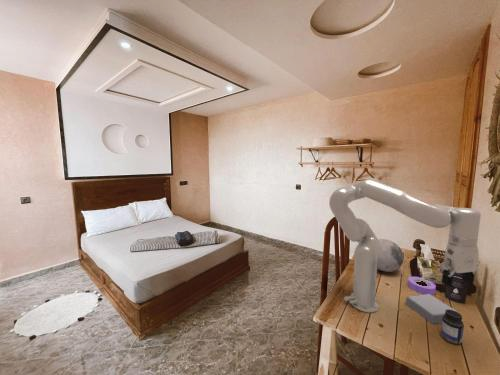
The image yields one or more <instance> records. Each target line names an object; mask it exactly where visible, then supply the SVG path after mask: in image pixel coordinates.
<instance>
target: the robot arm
mask: <svg viewBox="0 0 500 375" xmlns="http://www.w3.org/2000/svg"><path fill="white" fill-rule="evenodd" d="M364 198H368V199H370V200H373V201H375V202H377V203H379V204H382V205H384V206H386V207H389V208H392V209H393V210H395V211H396V212H398V213H401V214H403V215H404V216H406V217H408V218H410V219H412V220H414V221H416V222H419V223H421V224H422V225H425V226H429V227H431V228H436V229H443V228H446V227H448V226H449V230H448V241H447V245H446V248H445V253H444V257H443V261H442V262H441V263H439V265H438V268H439V270H440V272H441V274H442V276H441V283H442V284H444V285H445V286H447V287H449V288H452V287H453V282H454V277H453V275H454V274H456V273H457V274H462V281H464V282H466V283H467V284H470V285H474V282H475V275H476V274H477V272H476V271H478V270H479V266H480V263H481V262H480V261H479V256H480V255H479V247H478V239H479V232H480V224H481V215H482V214H481V212H480V211H479V210H477V209H475V208H468V207H455V206H450V205H446V204H445V205H444V204H439V203H438V204H435V203H434V204H429V203H426V202H423V201H420V200H418V199H416V198H414V197H412V196H411V195H410V194H409V193H407V192H405V191H404V190H402V189H399V188H396V187H394V186H391V185H388V184H385V183H383V182H381V181H380V180H379V179H377V178H375V177H370V178H365V179H363V180H362V181H361V180H360V181H358V182H354V183H352V184H348V185H344V186H341V187H339V188H337V189H335V190H334V191H333V192H332V194H331V195H330V198H329V208H330V211H331V213H332V214H333V216H334V217H335V219H336V220H337V223H338V225H339V226H340V228H341V230H342V231H343V233H344V235H345V237H346V238H347V239H348V240H349V241H350V242H353V243H354V242H356V243H358V244H357V245H356V247H355V249H354V252H353V257H354V258H353V260H354V269H353V270H354V271H353V272H354V274H353V287H352V288H353V292H351V294H350V295H349V296H344V297H343V300H344V301H345V302H349V303H350V304H351V306H353V307H354V308H355V309H357V310H359V311H362V312H364V313H369V314H370V313H376V312H377V311H378V310H379V303H378V302H377V301H376V295H377V294H376V291H377V276H378V275H377V274H378V269H377V259H378V256H379V254H380V252H381V245H380V242H379V241H378V239H379V238H378V237H377V236H376V235H375V233H374V232H373V230H372V228H371V227H370V225H369V224H368V222H367V221H365V220H364V219H362V218H357V217H356V216H355V214H354V213H355V212H353V210H352V209H351V208H350V207H349V203H352V202H353V201H357V200H361V199H364ZM448 270H449V271H448Z"/></svg>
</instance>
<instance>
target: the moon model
mask: <svg viewBox="0 0 500 375" xmlns="http://www.w3.org/2000/svg"><path fill="white" fill-rule="evenodd" d="M377 239H378V241H379V242H380V245H381V252H380V254H379V256H378V259H377V270H379V271H382V272H384V273H386V272H387V273H390V272H391V273H392V272H395V271H397V270H399V269H400V268H401V267H402V265H403V263H404V260H405V257H404V256H405V255H404V253H403V251H402V248H401V247H400V246H399V245H398V244H397V243H395V242H393V241H392V240H389V239H385V238H381V239H379V238H377Z"/></svg>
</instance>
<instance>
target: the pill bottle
mask: <svg viewBox="0 0 500 375" xmlns="http://www.w3.org/2000/svg"><path fill="white" fill-rule="evenodd" d="M454 310H455V309H454ZM454 310H450V309H447V310H446V311H445V315H443V316H442V323H441V327H440V336H441V338H442V339H444V340H445V341H446V342H448V343H450V344H452V345H462V342H463V335H464V329H465V328H464V327H465V324H464V321H462V320H463V315H462V314H461V313H460V312H458V311H457V310H456V311H457V312H456V311H454Z"/></svg>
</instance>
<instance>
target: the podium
mask: <svg viewBox="0 0 500 375" xmlns="http://www.w3.org/2000/svg"><path fill="white" fill-rule="evenodd" d="M405 305H407V306H408V307H409V308H410V309H412V310H413V311H415V312H416V313H417V314H419V315H420V316H421V317H422V318H424V319H425V320H427V322H429V323H430V324H432V325H433V324H434V325H436V324H442V316H443V315H445V311H446V310H447V309H450V310H454V311H456V312H458V311H457V310H455V309H454V308H453V307H451V306H449V305H447V304H446V303H444V302H443V301H441V300H440V299H438V298H437V297H435V296H433V295H430V294H418V295H410V296H406V297H405Z"/></svg>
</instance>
